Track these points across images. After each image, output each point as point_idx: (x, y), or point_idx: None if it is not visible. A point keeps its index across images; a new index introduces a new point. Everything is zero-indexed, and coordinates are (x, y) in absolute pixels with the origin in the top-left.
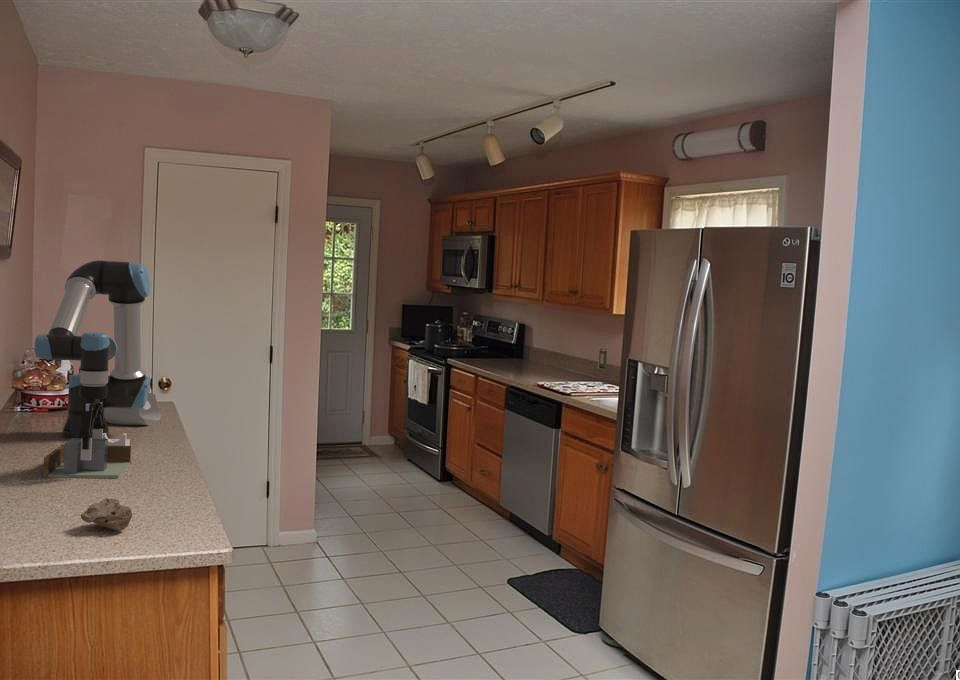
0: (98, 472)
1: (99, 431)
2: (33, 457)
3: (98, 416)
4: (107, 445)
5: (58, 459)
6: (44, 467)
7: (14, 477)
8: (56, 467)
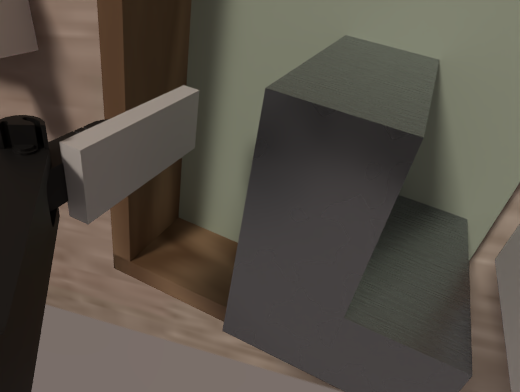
0: (474, 98)
1: (98, 164)
2: (87, 269)
3: (15, 319)
4: (305, 73)
5: None
6: None
7: None
8: None
